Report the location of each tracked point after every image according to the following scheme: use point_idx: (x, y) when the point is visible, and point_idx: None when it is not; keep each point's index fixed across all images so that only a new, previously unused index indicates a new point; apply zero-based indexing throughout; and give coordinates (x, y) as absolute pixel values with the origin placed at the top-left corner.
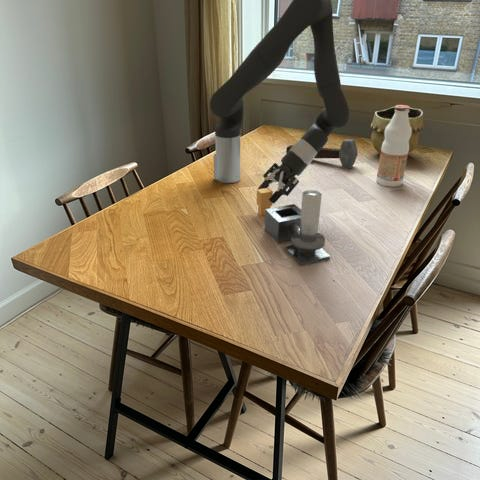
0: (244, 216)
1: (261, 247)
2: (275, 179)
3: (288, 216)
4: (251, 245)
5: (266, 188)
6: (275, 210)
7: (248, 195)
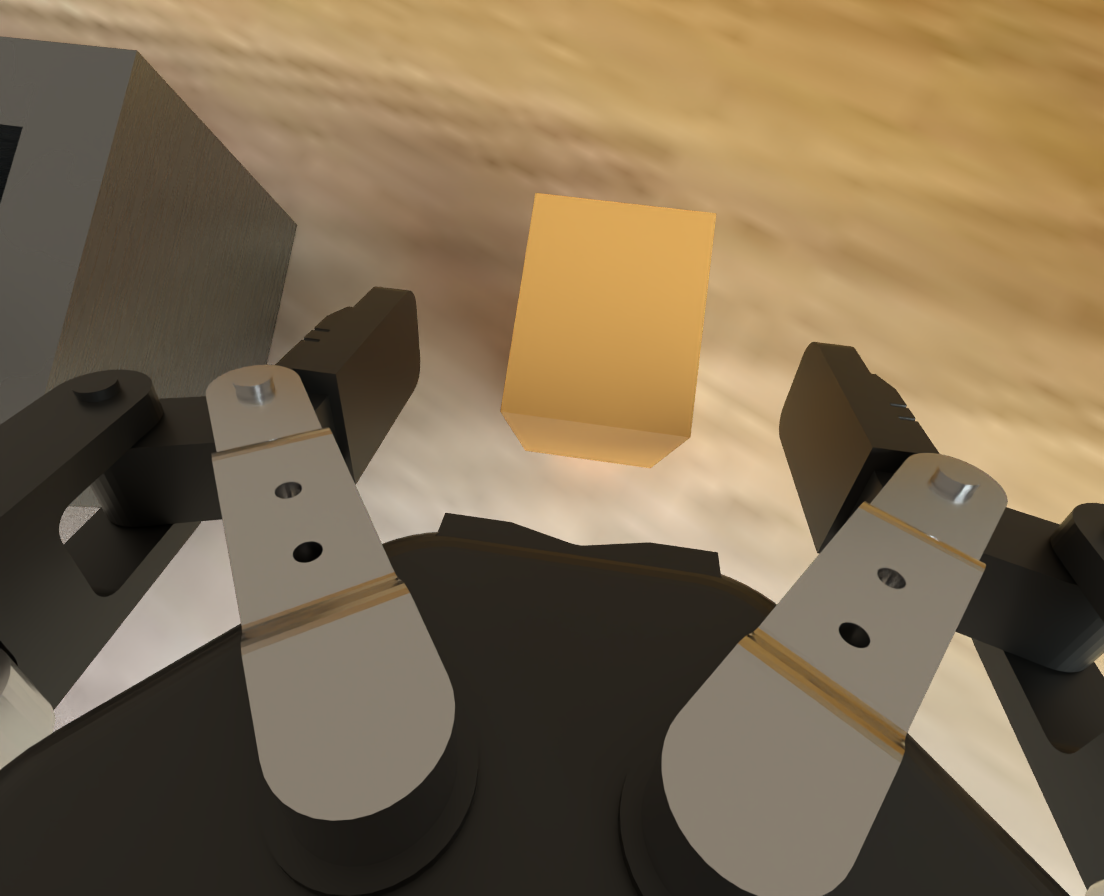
0: None
1: None
2: (624, 546)
3: None
4: (158, 15)
5: (671, 384)
6: (23, 145)
7: None
